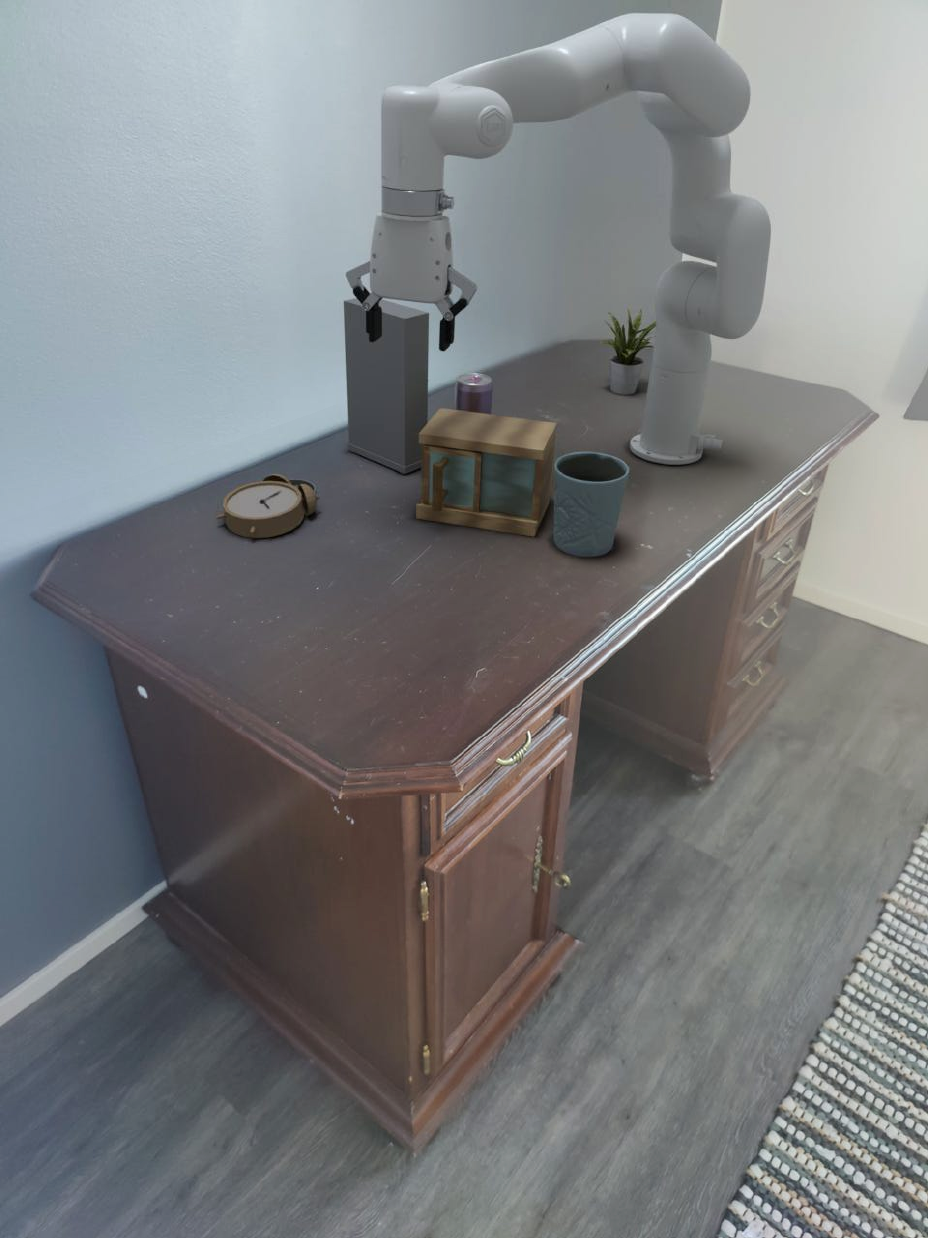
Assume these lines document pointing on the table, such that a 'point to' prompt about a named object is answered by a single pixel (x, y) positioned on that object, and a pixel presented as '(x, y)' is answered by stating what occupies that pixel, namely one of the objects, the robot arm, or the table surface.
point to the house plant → (627, 355)
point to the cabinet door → (452, 478)
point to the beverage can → (473, 393)
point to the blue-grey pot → (587, 502)
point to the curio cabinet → (497, 468)
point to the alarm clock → (269, 506)
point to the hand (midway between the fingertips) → (409, 343)
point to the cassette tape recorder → (387, 384)
